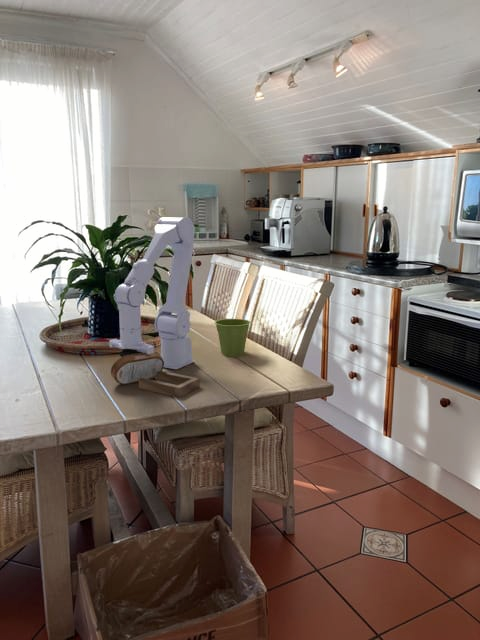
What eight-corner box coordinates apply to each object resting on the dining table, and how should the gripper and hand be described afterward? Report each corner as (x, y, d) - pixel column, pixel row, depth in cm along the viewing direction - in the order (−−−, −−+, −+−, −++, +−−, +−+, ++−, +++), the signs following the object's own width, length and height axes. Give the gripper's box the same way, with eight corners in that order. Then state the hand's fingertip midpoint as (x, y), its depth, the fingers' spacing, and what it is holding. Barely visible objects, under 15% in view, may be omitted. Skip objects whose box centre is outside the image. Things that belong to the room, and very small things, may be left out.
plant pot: (257, 354, 174) (257, 320, 171) (237, 362, 164) (237, 327, 162) (228, 348, 180) (228, 316, 178) (207, 356, 170) (206, 322, 168)
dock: (160, 379, 148) (159, 370, 147) (199, 387, 141) (199, 378, 141) (138, 388, 140) (138, 379, 140) (179, 397, 134) (179, 388, 133)
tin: (158, 372, 151) (162, 347, 147) (163, 378, 149) (167, 353, 145) (108, 382, 142) (111, 356, 139) (113, 389, 140) (116, 362, 136)
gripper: (100, 327, 144) (102, 374, 147) (141, 333, 137) (143, 383, 140) (118, 322, 150) (120, 368, 153) (158, 328, 143) (159, 376, 146)
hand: (132, 375), depth 147 cm, fingers closed
